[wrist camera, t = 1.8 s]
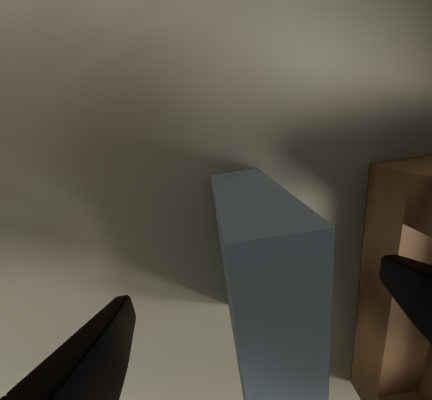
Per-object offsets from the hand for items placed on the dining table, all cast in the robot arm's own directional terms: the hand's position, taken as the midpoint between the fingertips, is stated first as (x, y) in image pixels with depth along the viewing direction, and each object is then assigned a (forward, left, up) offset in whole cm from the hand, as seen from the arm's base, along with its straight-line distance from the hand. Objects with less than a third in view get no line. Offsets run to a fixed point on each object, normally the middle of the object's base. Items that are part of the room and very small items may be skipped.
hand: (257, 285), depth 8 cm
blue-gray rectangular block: (0, 0, -3) cm, 3 cm away
